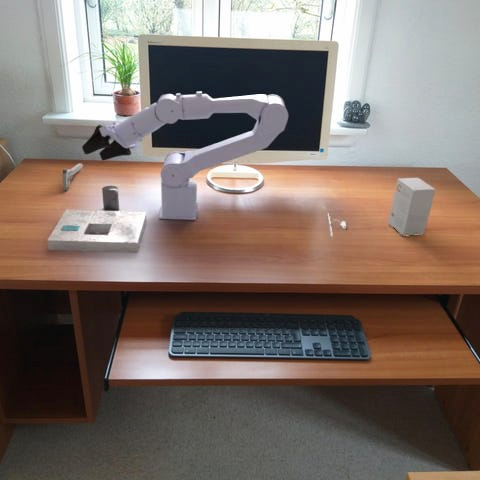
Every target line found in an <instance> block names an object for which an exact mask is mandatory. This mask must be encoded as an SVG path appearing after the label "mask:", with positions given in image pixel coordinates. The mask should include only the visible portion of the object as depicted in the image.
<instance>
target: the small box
mask: <svg viewBox="0 0 480 480" xmlns="http://www.w3.org/2000/svg"><path fill="white" fill-rule="evenodd" d="M435 193H436V188H434V187H433V186H431V185H430V184H428V183H427V182H426V181H424V180H423V179H421V178H419V177H406V178H403V177H402V178H399V177H398V178H397V181H396V186H395V190H394V194H393V199H392V204H391V208H390V212H389V217H388V221H387V224H388V223H389V224H388V225H390V226H391V227H392V228H393V227H394V228H395V229H396V230H397V231H398V232H399V233H398V232H397V231H396V230H395V229H394V228H393V229H394V230H395V231H396V232H397V233H398V234H400V235H401V234H402V235H403V236H406V235H415V234H424V235H425V232H426V229H427V225H428V221H429V216H430V212H431V209H432V205H433V202H434V198H435V197H434V196H435ZM402 235H401V236H402ZM403 236H402V237H403ZM406 237H407V236H406Z"/></svg>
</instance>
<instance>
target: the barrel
mask: <svg viewBox="0 0 480 480" xmlns="http://www.w3.org/2000/svg"><path fill="white" fill-rule="evenodd" d="M101 193H102V203H103V211H120V201H119V200H120V199H119V188H118V186H115V185H107V186H103V187H102V188H101Z"/></svg>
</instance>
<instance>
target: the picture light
mask: <svg viewBox="0 0 480 480" xmlns="http://www.w3.org/2000/svg"><path fill="white" fill-rule="evenodd" d="M327 214H328V215H327V221H329V222H328V228H329V234H330V235H329V236H330V237H331V238H333V237H334V234H333V229H332V223H333V222H337V223H339V227H340V226H341V228H342V230H347V224H346V220H345V221H344V220H342V221H341V220H339V219H337V218H335V219H332V220H331V215H330V216H329V214H330V213H327ZM330 220H331V221H330Z"/></svg>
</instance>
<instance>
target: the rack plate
mask: <svg viewBox="0 0 480 480" xmlns="http://www.w3.org/2000/svg"><path fill="white" fill-rule="evenodd" d="M58 220H59V221H58V222H57V223H56V225H55V227H54V229H53V230H52V232H51V234H49V237H48V238H47V240H46V241H47V247H48V250H49V251H78V252H81V251H82V252H105V253H106V252H107V253H108V252H109V253H111V252H112V253H117V252H119V253H139V250H140V246H141V243H142V240H143V235H144V233H145V228H146V224H147V222H148V221H147V212H146V211H129V210H128V211H126V210H121V211H120V210H119V211H104V210H99V209H97V210H94V209H93V210H92V209H68V208H66V209H65V211H64V212H63V213H62V216H61V218H60V219H58ZM90 233H91V234H90ZM92 233H95V234H92Z"/></svg>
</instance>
